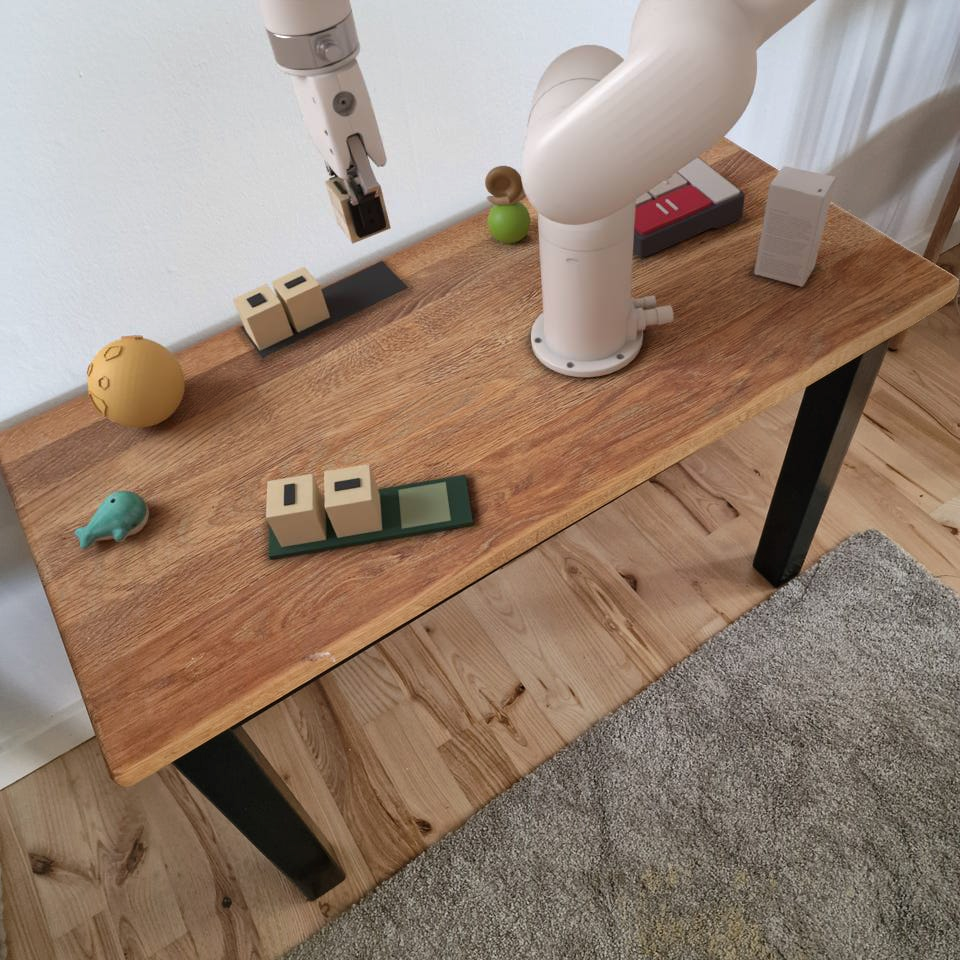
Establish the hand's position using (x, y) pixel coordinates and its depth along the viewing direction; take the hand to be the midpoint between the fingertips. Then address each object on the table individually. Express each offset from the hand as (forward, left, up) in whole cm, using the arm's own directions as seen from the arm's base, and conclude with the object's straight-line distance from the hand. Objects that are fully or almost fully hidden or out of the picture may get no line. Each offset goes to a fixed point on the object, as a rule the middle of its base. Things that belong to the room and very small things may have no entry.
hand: (362, 218), depth 86 cm
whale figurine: (+30, +22, -16) cm, 41 cm away
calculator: (-37, -14, -16) cm, 43 cm away
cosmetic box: (-47, 0, -16) cm, 50 cm away
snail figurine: (-17, -15, -16) cm, 28 cm away
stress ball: (+28, +6, -16) cm, 33 cm away
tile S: (0, 0, -1) cm, 1 cm away
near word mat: (+4, +26, -16) cm, 31 cm away
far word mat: (+8, -7, -16) cm, 19 cm away
